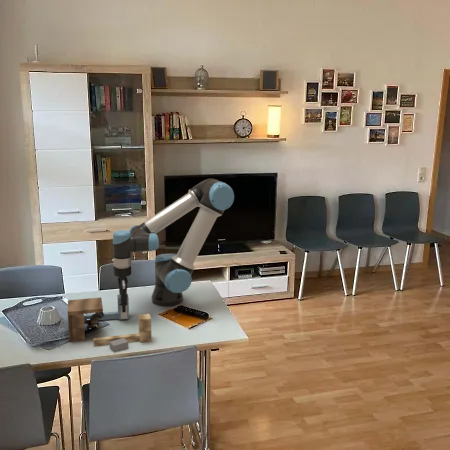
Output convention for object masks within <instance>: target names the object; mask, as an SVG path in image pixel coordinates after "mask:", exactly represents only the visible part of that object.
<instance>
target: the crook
mask: <svg viewBox="0 0 450 450" xmlns="http://www.w3.org/2000/svg"><path fill="white" fill-rule="evenodd" d="M116 299H117V311H110V312H109V311H107V312H103V314H104V316H103V318H101V319H99V320H98V321H106V320H117V319H118V321H121V320H123V319H121V306H119V304H121V294H120V295H119V294H117V298H116ZM129 304H130V303H129V294H128V293H127V318H126V319H125V320H129V319H130V309H129V306H130V305H129ZM93 314H94V313H88V314H84V320H86V319H90V318H91V315H93Z"/></svg>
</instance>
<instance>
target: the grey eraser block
mask: <svg viewBox="0 0 450 450" xmlns="http://www.w3.org/2000/svg"><path fill="white" fill-rule="evenodd" d="M109 349H110V350H111V351H112V352H113V353H118V352H120V351H123V350H128V349H129V342H128V341H127V340H126V339H125V338H121V339H118V340H114V341H111V342H110V345H109Z"/></svg>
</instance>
